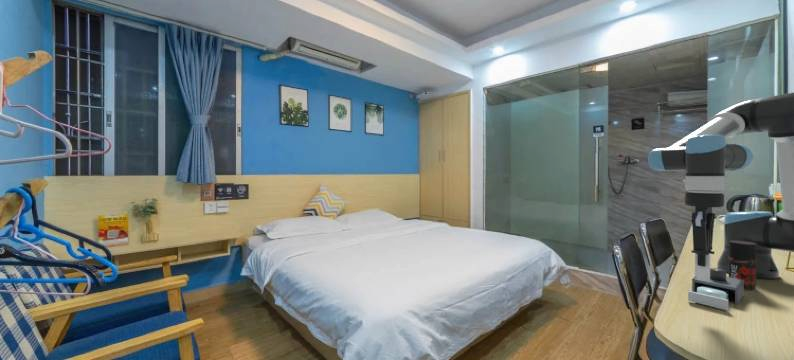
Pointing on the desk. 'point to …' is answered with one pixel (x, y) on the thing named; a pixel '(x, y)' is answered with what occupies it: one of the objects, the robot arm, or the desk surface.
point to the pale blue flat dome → (711, 292)
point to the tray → (709, 300)
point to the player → (720, 283)
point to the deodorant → (743, 262)
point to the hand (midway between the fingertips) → (702, 276)
